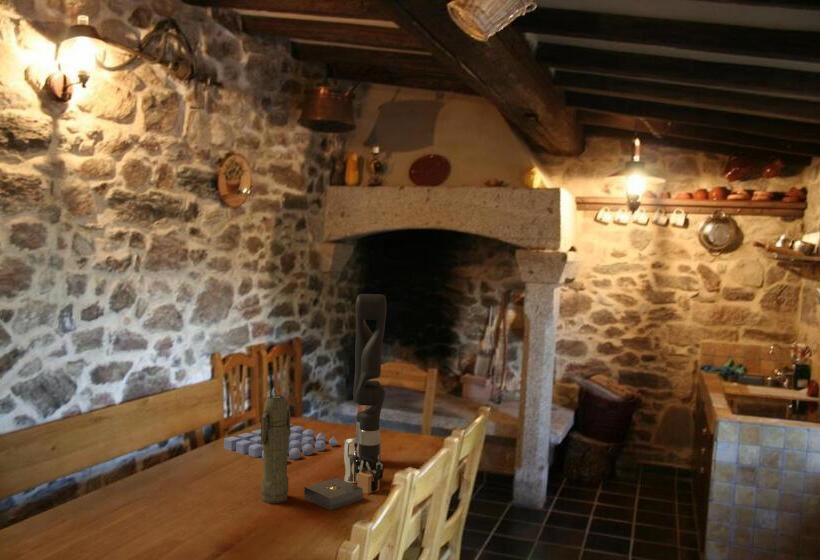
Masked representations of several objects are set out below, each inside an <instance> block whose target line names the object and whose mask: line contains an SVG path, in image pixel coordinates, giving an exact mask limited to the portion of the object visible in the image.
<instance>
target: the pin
mask: <svg viewBox="0 0 820 560" xmlns="http://www.w3.org/2000/svg"><path fill="white" fill-rule="evenodd" d="M329 489H331V490H336V489H338V487H337V486H330V487H329Z"/></svg>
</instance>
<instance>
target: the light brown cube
mask: <svg viewBox="0 0 820 560" xmlns="http://www.w3.org/2000/svg"><path fill="white" fill-rule="evenodd" d="M374 471H375V470H372V472H374ZM379 475H380V474H379ZM374 477H375V474H374ZM371 481H372V479H371V475H369V472H368V470H367V471H363V472H360V473H358V483H356V484H357V485H356V486H358V487H361V488H363V493H364V494H368V495H369V494H372V493H374V492H378V491H380V482H381V481H380V480H378V488H377V490H376V491H371Z"/></svg>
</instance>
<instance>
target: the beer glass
mask: <svg viewBox="0 0 820 560" xmlns="http://www.w3.org/2000/svg"><path fill="white" fill-rule="evenodd" d="M358 450H359V439H358V438H356V437H351V438H350V437H349V438H345V439H344V440H343V452H342V453H343V462H344V467H345V471H344V478H343V481H345V482H348V483H351V484H358V473H355V465H354V457H355V456H359V453H358ZM358 469H359V466H358Z"/></svg>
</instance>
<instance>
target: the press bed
mask: <svg viewBox="0 0 820 560" xmlns="http://www.w3.org/2000/svg"><path fill="white" fill-rule="evenodd" d="M330 486H337V487H338V489H336V490H331V489H329V487H330ZM303 491H304V497H303V498H304V500H306V501H309V502H311V503H313V504H316V505H317V506H320V507H321V508H324V509H326V510H329V511H332V510H336V509H338V508H341V507H345V506H348V505H350V504H353V503H357V502H360V501H363V493H364V492H363V488H361V487H358V486H357V485H355V484H354V483H348V482H345V481H344V479H341V478H338V477H335V478H331V479H328V480H324V481H320V482H318V483H313V484H310V485H307V486H304V490H303Z"/></svg>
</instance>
